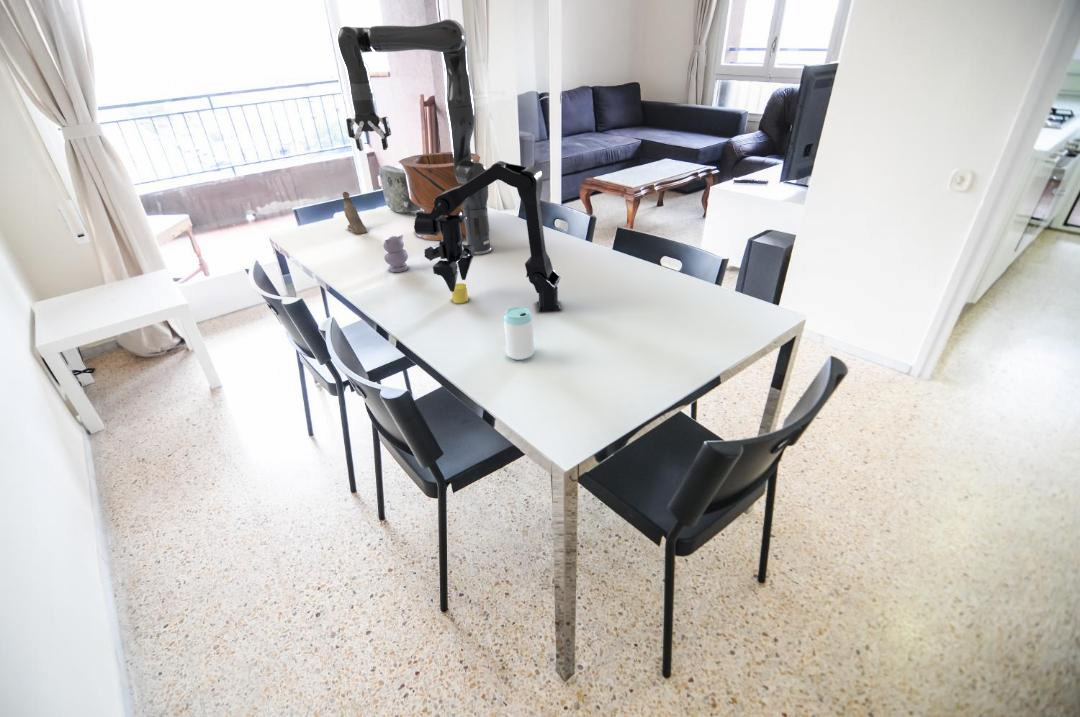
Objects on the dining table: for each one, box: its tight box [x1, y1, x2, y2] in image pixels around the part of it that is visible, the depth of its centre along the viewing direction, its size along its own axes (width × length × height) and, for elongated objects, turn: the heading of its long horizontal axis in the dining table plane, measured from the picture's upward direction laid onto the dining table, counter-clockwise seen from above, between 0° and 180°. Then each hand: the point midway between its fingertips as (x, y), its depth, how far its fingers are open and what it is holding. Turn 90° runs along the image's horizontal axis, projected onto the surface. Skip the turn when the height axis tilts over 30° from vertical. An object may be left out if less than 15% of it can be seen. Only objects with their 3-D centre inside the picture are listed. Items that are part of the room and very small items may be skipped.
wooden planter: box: [398, 151, 481, 241], centre depth 212 cm, size 34×35×29 cm
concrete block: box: [378, 164, 421, 214], centre depth 245 cm, size 27×9×20 cm, turn 39°
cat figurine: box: [382, 234, 409, 273], centre depth 178 cm, size 8×8×12 cm
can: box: [503, 306, 535, 361], centre depth 123 cm, size 7×7×12 cm
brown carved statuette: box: [342, 191, 368, 235], centre depth 221 cm, size 12×6×18 cm, turn 37°
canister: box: [451, 282, 469, 304], centre depth 155 cm, size 5×5×5 cm
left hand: (373, 150), depth 174 cm, fingers open, 8 cm apart
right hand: (458, 285), depth 153 cm, fingers open, 9 cm apart
